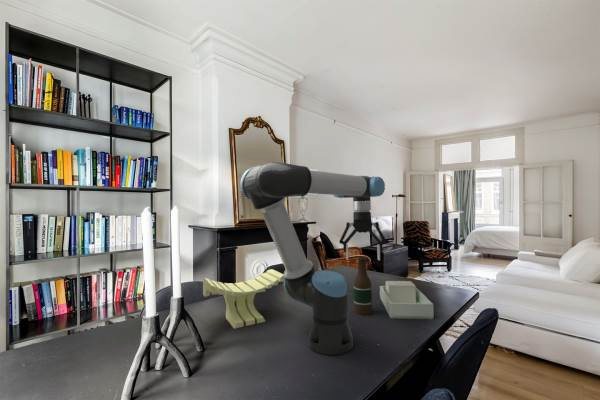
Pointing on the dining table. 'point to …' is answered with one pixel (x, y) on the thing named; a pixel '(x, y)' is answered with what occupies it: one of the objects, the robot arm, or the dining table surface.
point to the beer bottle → (362, 289)
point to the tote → (408, 307)
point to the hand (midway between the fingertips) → (362, 259)
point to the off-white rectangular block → (401, 291)
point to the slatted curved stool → (242, 297)
